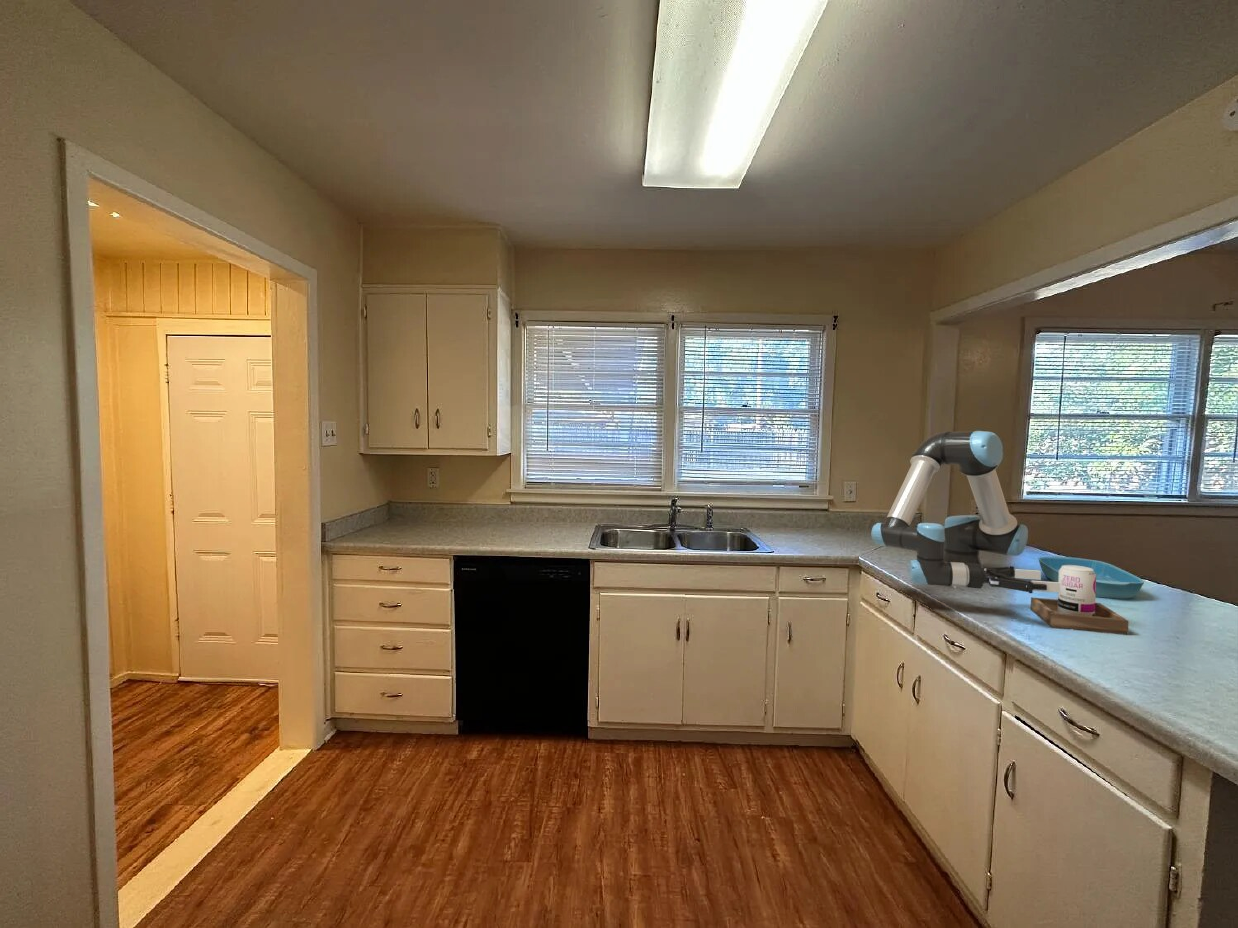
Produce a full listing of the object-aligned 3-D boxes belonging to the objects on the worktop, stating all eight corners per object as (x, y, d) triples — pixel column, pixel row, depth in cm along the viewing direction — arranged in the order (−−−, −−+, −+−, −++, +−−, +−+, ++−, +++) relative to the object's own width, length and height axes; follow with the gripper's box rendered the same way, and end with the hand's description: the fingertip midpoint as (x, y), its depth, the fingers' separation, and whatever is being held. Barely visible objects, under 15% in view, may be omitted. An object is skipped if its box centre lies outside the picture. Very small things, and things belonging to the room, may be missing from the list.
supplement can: (1090, 616, 155) (1091, 566, 154) (1097, 624, 148) (1099, 572, 147) (1055, 611, 159) (1056, 563, 158) (1060, 620, 152) (1062, 569, 151)
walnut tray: (1030, 609, 164) (1031, 597, 163) (1099, 615, 158) (1099, 602, 157) (1051, 627, 149) (1051, 613, 149) (1127, 634, 143) (1128, 620, 142)
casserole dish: (1157, 606, 166) (1158, 584, 165) (1070, 599, 174) (1071, 578, 173) (1099, 576, 200) (1100, 558, 200) (1029, 571, 208) (1029, 554, 208)
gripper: (955, 576, 174) (1033, 582, 167) (977, 599, 151) (1067, 606, 143) (956, 554, 174) (1033, 559, 166) (977, 573, 151) (1068, 579, 143)
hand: (1049, 581), depth 155 cm, fingers open, 13 cm apart
